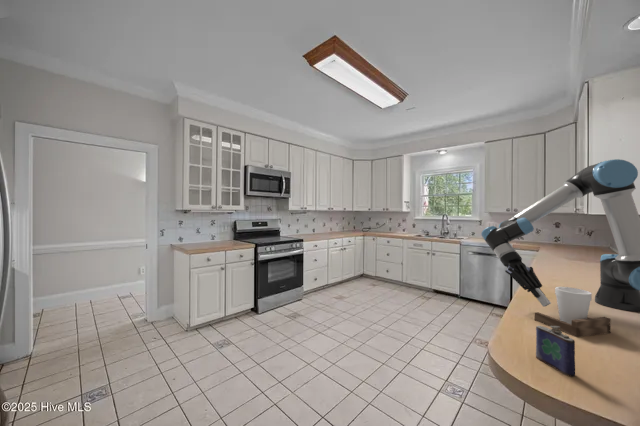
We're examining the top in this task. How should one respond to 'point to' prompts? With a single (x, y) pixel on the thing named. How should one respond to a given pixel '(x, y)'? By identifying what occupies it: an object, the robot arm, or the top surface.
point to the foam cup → (572, 303)
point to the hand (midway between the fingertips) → (547, 304)
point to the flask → (556, 349)
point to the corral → (577, 325)
